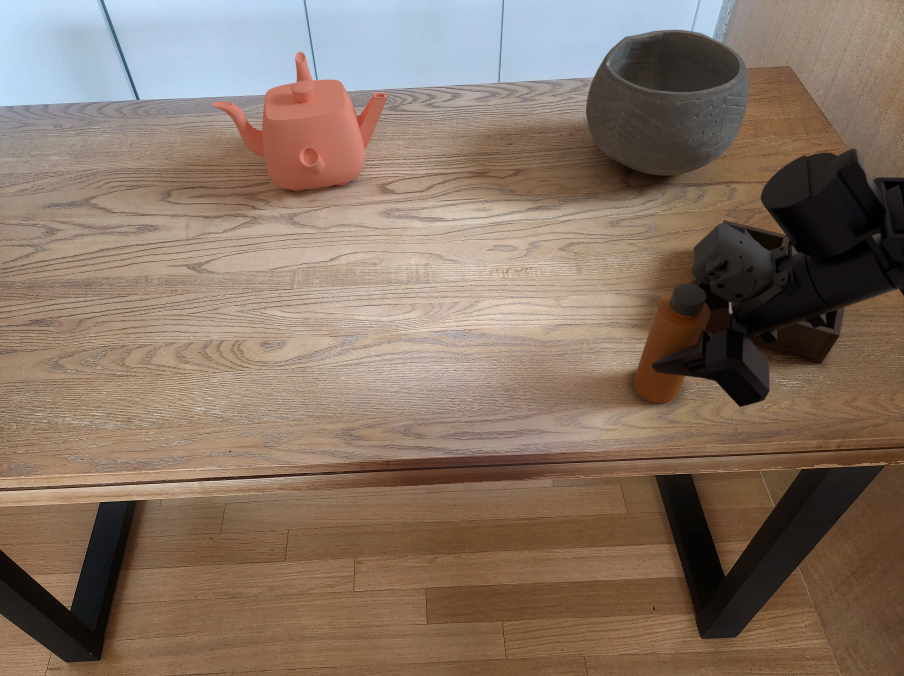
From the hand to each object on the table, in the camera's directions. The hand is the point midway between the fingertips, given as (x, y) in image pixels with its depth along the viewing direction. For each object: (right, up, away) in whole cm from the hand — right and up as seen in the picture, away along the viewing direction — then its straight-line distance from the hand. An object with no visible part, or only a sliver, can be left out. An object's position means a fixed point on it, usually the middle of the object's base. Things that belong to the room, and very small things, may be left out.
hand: (657, 341), depth 68 cm
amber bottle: (+2, -5, +5) cm, 7 cm away
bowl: (+11, +29, +32) cm, 44 cm away
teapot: (-40, +28, +36) cm, 61 cm away
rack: (+17, +5, +12) cm, 22 cm away
